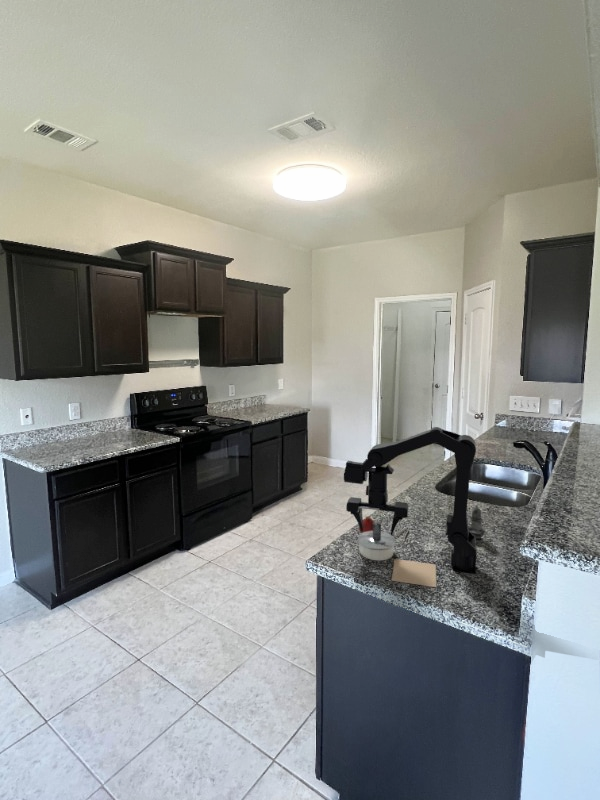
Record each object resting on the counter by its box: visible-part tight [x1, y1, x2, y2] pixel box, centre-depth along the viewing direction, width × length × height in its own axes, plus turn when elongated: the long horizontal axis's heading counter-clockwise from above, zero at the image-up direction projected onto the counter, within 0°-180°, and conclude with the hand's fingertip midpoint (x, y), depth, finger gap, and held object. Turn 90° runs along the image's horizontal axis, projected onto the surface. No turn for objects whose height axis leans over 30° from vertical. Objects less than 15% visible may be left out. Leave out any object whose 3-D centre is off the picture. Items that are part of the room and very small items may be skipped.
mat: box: [391, 558, 437, 588], centre depth 124 cm, size 12×12×1 cm
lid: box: [358, 521, 396, 550], centre depth 135 cm, size 12×12×6 cm
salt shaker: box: [468, 505, 486, 544], centre depth 143 cm, size 6×6×12 cm
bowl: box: [358, 542, 395, 561], centre depth 136 cm, size 11×11×4 cm
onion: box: [358, 516, 375, 534], centre depth 145 cm, size 6×6×8 cm
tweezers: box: [392, 525, 411, 543], centre depth 151 cm, size 17×5×2 cm, turn 148°
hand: (376, 532), depth 135 cm, fingers open, 9 cm apart
